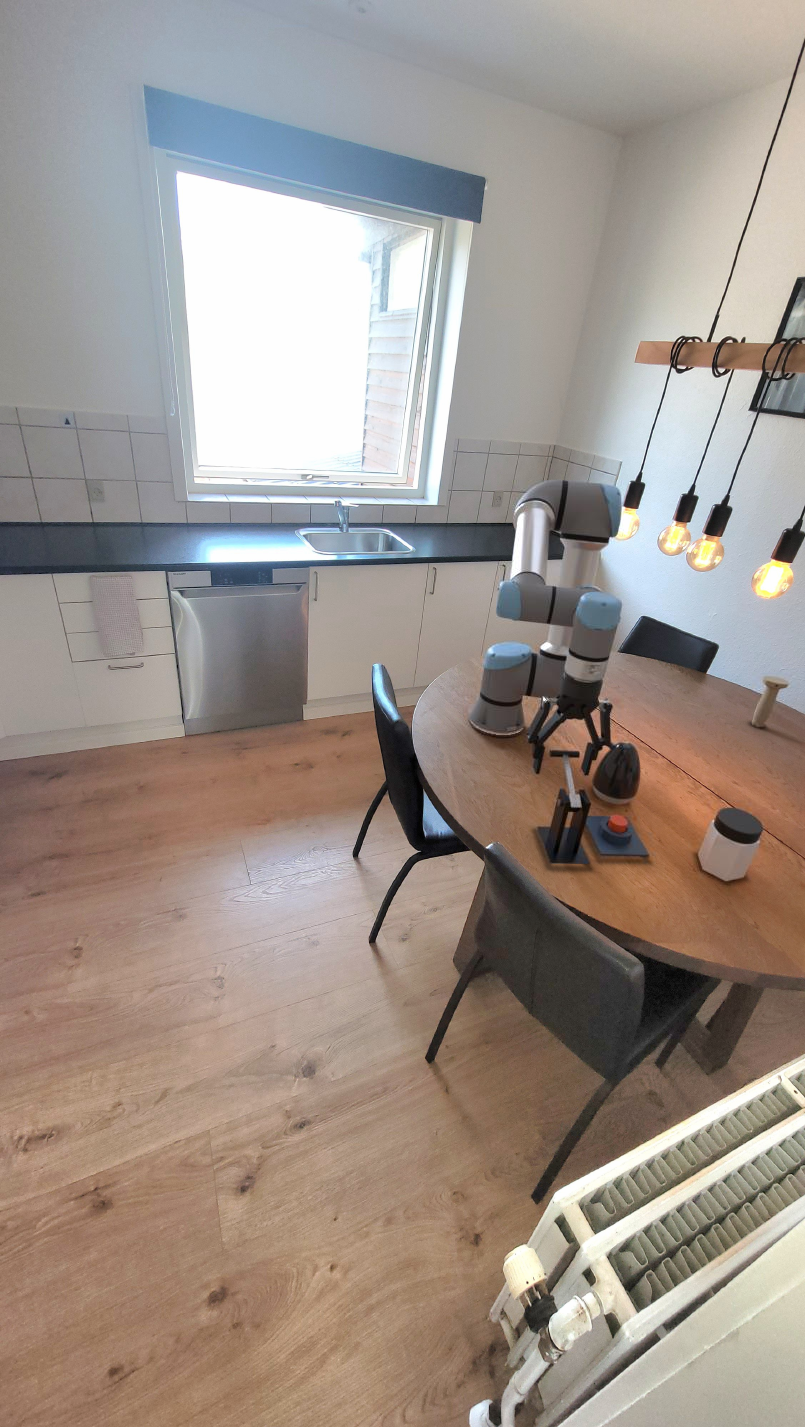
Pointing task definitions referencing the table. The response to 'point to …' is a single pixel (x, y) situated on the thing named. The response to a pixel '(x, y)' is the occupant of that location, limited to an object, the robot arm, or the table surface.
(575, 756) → the tap lever
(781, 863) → the table surface
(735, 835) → the jar
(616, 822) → the button
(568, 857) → the lever stand
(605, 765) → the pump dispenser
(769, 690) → the handle
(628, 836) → the button block
